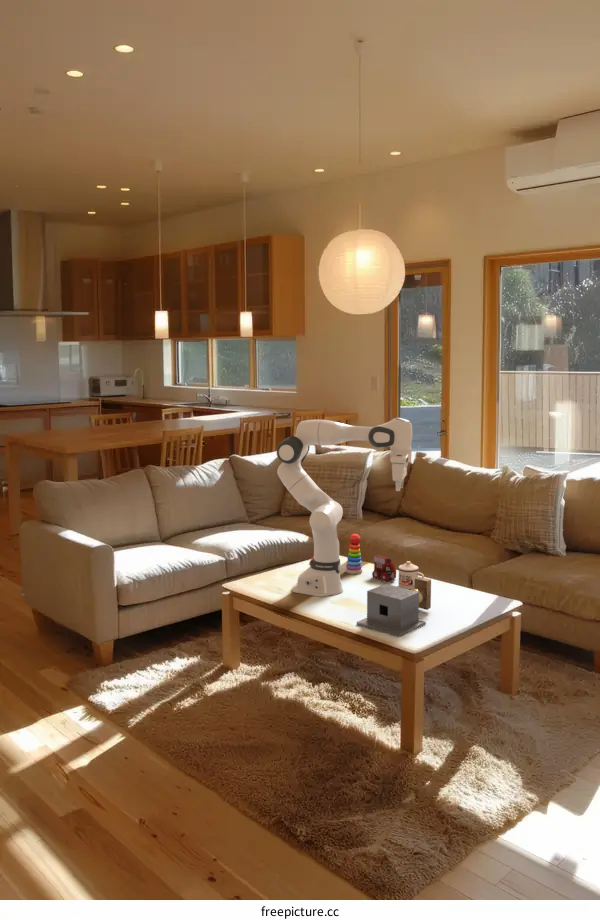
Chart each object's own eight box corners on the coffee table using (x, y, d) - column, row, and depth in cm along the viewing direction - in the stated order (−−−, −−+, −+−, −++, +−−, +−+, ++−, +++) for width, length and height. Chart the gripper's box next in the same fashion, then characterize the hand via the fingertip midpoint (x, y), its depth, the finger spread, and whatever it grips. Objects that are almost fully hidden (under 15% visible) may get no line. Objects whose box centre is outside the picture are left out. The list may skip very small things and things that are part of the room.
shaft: (417, 604, 336) (418, 576, 334) (431, 608, 332) (431, 579, 330) (387, 617, 321) (387, 588, 319) (400, 621, 316) (401, 591, 314)
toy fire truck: (390, 583, 369) (390, 561, 368) (369, 577, 378) (369, 556, 376) (399, 580, 374) (400, 558, 373) (378, 574, 383) (379, 553, 381)
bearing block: (384, 613, 330) (384, 581, 328) (425, 624, 317) (426, 592, 315) (356, 624, 317) (356, 592, 315) (398, 637, 304) (399, 603, 302)
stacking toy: (352, 575, 381) (353, 536, 378) (342, 571, 387) (342, 533, 384) (365, 572, 386) (365, 534, 383) (354, 569, 392) (355, 531, 389)
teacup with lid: (394, 588, 362) (395, 562, 361) (402, 582, 370) (402, 557, 368) (420, 592, 357) (420, 566, 355) (427, 586, 364) (427, 561, 363)
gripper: (396, 454, 351) (394, 485, 353) (390, 458, 331) (388, 492, 333) (410, 454, 350) (409, 486, 351) (405, 459, 330) (404, 493, 332)
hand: (399, 489), depth 342 cm, fingers open, 8 cm apart
